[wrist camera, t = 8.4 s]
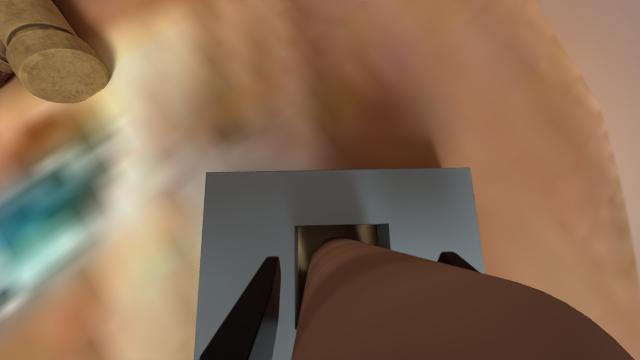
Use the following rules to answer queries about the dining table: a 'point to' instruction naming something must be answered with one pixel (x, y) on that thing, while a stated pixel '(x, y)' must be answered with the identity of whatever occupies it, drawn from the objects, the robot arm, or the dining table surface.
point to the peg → (432, 312)
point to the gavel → (47, 53)
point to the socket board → (318, 210)
